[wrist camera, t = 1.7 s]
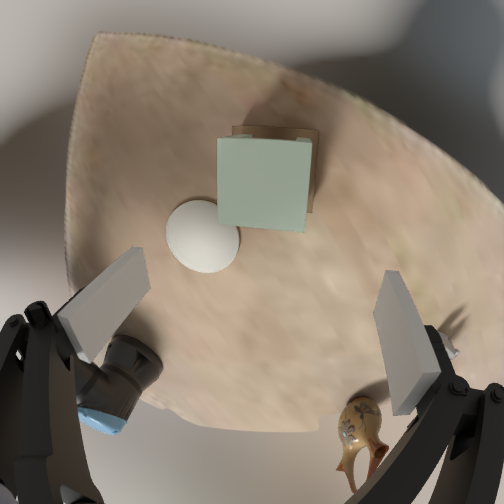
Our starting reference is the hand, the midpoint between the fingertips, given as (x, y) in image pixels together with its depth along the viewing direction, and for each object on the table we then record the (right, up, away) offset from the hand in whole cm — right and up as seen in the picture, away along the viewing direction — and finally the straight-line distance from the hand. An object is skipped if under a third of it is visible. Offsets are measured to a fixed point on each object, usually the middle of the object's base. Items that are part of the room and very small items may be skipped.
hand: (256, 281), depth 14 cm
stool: (+2, +11, +17) cm, 20 cm away
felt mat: (-8, +4, +29) cm, 30 cm away
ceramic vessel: (+25, -35, +41) cm, 59 cm away
